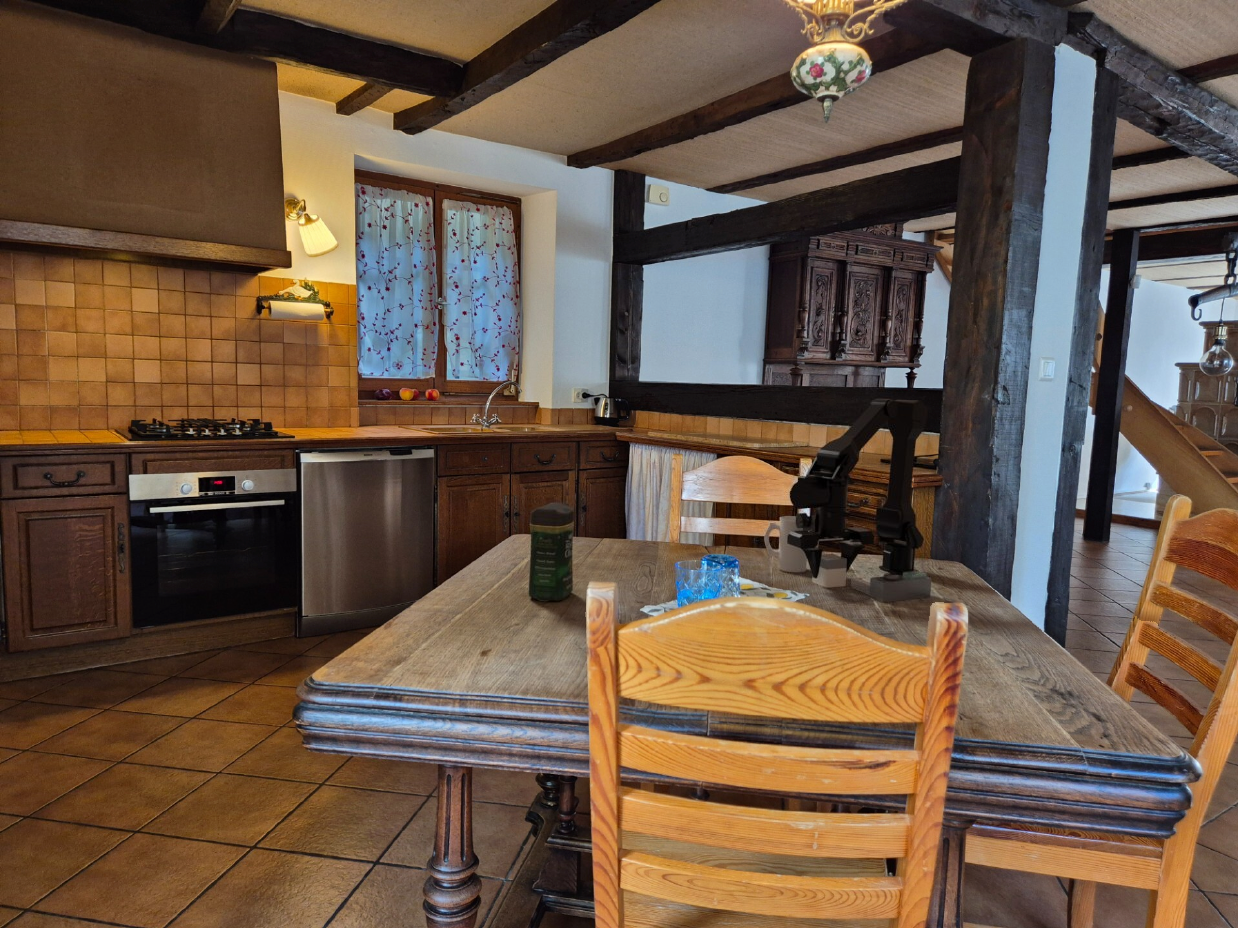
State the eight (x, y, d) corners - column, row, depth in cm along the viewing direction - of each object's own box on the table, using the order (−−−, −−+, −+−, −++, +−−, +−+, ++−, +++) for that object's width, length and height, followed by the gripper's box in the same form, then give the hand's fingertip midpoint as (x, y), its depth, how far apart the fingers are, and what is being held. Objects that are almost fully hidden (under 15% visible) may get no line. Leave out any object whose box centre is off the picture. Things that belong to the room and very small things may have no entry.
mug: (806, 567, 180) (809, 516, 179) (807, 573, 174) (810, 522, 172) (763, 564, 182) (765, 514, 181) (762, 570, 176) (764, 519, 174)
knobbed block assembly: (847, 587, 163) (849, 565, 162) (893, 583, 167) (894, 561, 166) (882, 602, 152) (883, 578, 152) (930, 597, 156) (931, 574, 156)
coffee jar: (561, 604, 146) (562, 509, 144) (523, 600, 149) (524, 506, 146) (578, 591, 156) (579, 501, 154) (541, 587, 158) (542, 499, 156)
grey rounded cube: (831, 580, 169) (832, 553, 168) (845, 586, 164) (846, 558, 163) (812, 581, 167) (813, 555, 166) (825, 587, 162) (827, 560, 162)
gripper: (845, 498, 174) (841, 565, 176) (774, 501, 168) (771, 570, 170) (877, 506, 164) (873, 577, 166) (803, 509, 158) (800, 583, 159)
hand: (829, 576), depth 165 cm, fingers open, 7 cm apart
